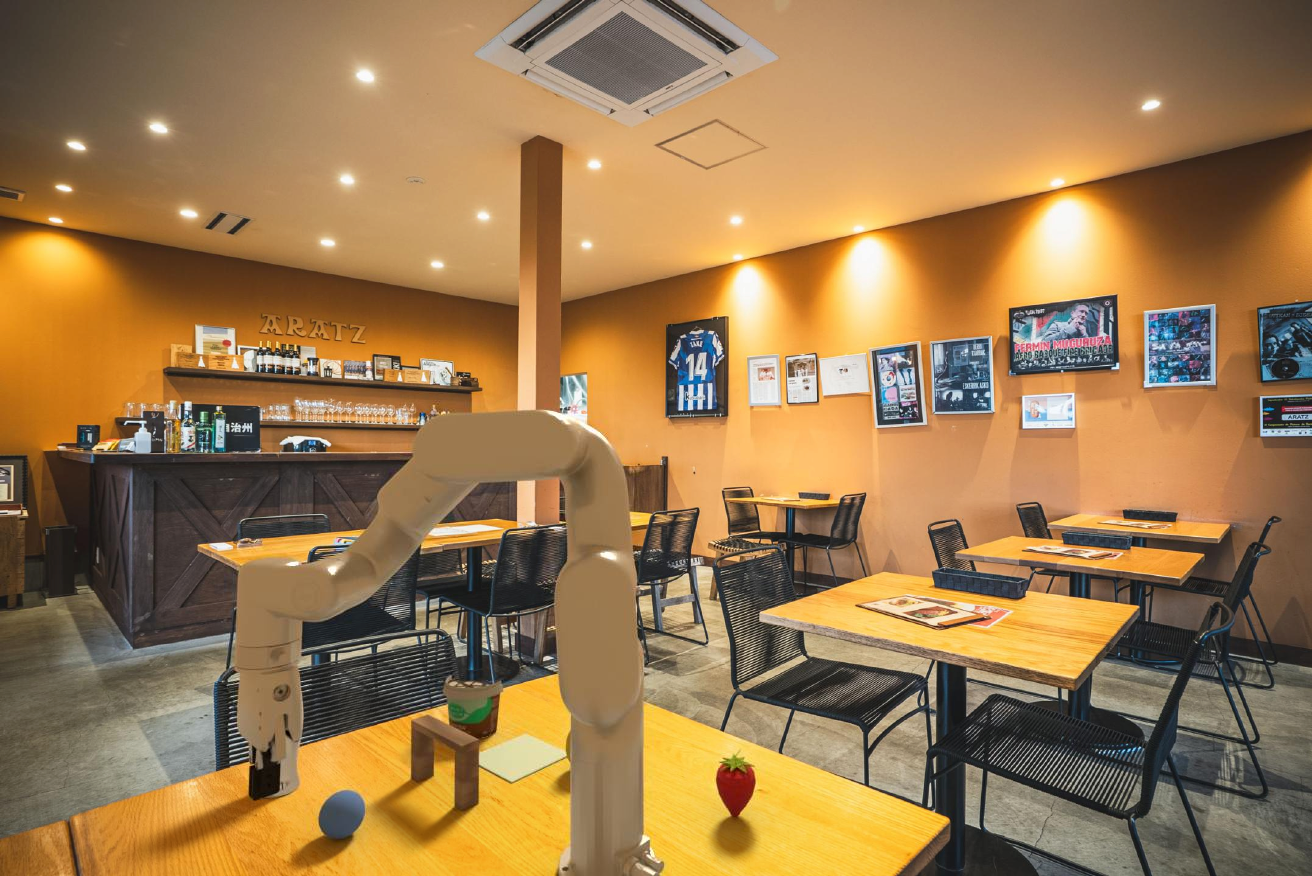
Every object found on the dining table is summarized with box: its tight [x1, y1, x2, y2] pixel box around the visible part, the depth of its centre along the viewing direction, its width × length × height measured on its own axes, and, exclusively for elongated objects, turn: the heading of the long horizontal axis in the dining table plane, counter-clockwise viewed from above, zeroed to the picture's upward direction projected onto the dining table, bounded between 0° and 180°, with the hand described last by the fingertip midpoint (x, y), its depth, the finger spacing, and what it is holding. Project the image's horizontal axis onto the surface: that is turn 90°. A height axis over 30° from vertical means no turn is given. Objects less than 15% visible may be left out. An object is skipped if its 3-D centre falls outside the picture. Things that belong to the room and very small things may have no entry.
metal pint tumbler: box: [265, 690, 304, 799], centre depth 104 cm, size 7×7×15 cm
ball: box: [317, 789, 366, 840], centre depth 91 cm, size 6×6×6 cm
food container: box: [442, 674, 504, 740], centre depth 124 cm, size 12×6×10 cm, turn 73°
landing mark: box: [479, 733, 567, 784], centre depth 115 cm, size 13×13×1 cm
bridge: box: [410, 714, 480, 812], centre depth 104 cm, size 3×15×10 cm, turn 49°
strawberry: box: [715, 748, 757, 818], centre depth 96 cm, size 6×8×10 cm
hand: (264, 794), depth 84 cm, fingers closed
